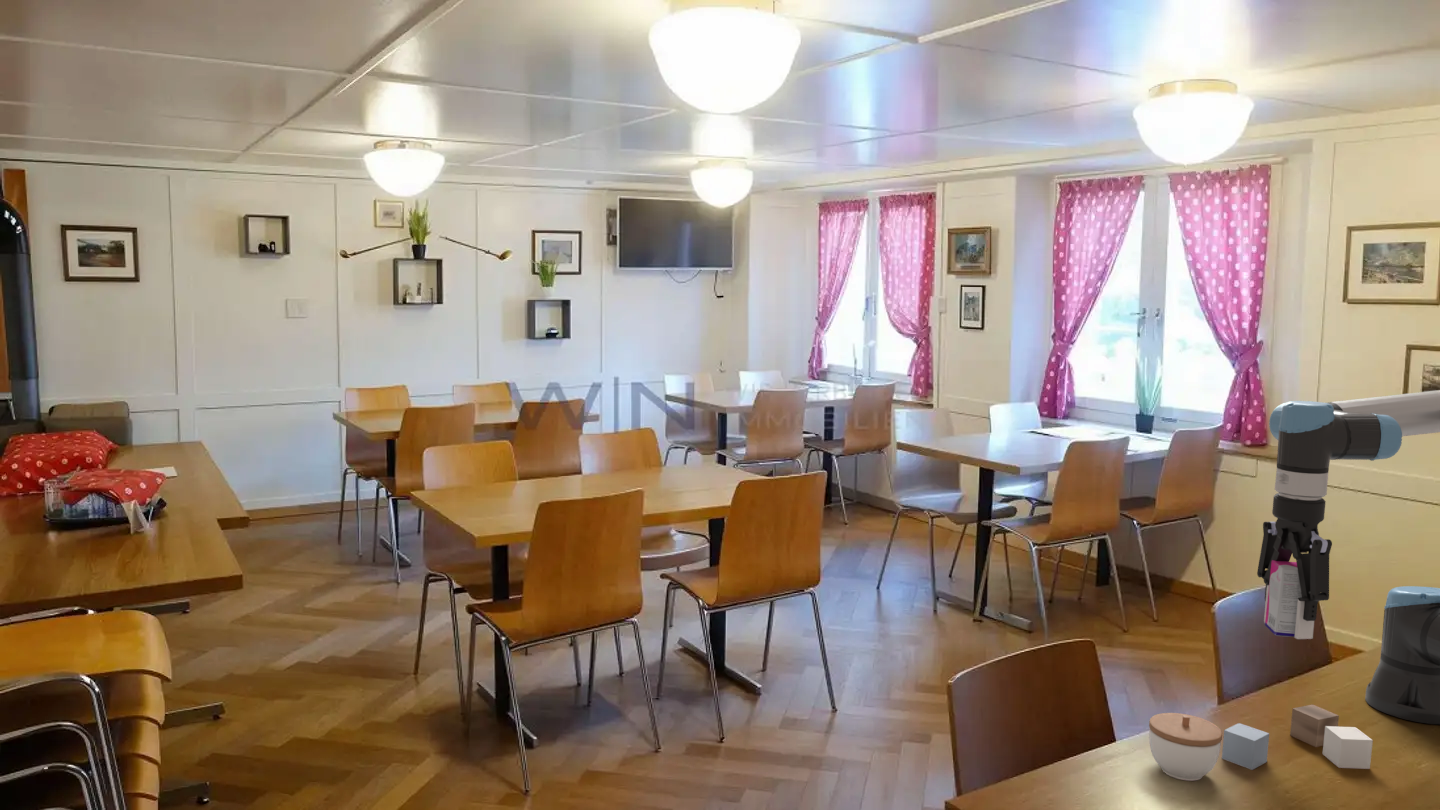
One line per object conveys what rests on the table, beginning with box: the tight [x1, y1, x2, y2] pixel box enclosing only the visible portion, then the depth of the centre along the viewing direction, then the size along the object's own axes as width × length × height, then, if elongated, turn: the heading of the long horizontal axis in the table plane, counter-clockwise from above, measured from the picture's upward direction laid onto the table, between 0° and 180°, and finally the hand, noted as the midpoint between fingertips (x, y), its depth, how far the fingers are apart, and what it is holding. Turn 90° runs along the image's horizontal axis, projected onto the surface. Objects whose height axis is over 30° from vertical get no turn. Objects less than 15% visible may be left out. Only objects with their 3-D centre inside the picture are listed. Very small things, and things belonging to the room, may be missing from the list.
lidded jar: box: [1148, 712, 1223, 782], centre depth 169 cm, size 11×11×9 cm
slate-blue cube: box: [1221, 722, 1270, 771], centre depth 174 cm, size 5×5×5 cm
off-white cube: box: [1322, 726, 1374, 770], centre depth 175 cm, size 5×5×5 cm
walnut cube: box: [1289, 704, 1340, 748], centre depth 183 cm, size 5×5×5 cm
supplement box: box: [1264, 560, 1310, 638], centre depth 176 cm, size 6×6×12 cm
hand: (1287, 630), depth 176 cm, fingers closed on supplement box, 7 cm apart
